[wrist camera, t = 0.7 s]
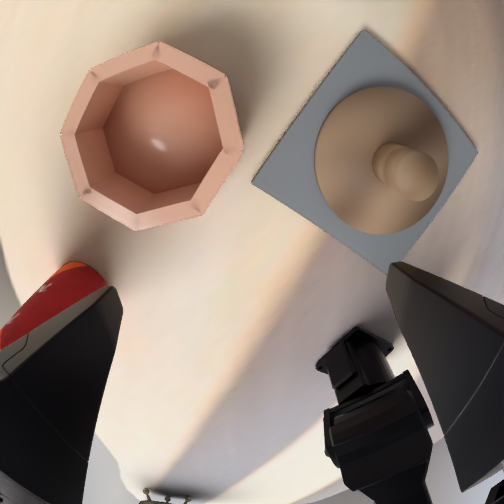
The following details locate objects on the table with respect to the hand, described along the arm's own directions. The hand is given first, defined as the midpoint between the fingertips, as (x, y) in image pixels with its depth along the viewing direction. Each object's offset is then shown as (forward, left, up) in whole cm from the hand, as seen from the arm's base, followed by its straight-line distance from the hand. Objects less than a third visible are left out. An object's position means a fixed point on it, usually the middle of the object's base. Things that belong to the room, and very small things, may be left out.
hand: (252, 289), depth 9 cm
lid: (-7, -7, -12) cm, 16 cm away
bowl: (+7, 0, -13) cm, 15 cm away
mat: (-7, -7, -13) cm, 16 cm away
